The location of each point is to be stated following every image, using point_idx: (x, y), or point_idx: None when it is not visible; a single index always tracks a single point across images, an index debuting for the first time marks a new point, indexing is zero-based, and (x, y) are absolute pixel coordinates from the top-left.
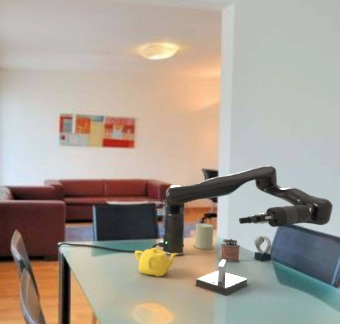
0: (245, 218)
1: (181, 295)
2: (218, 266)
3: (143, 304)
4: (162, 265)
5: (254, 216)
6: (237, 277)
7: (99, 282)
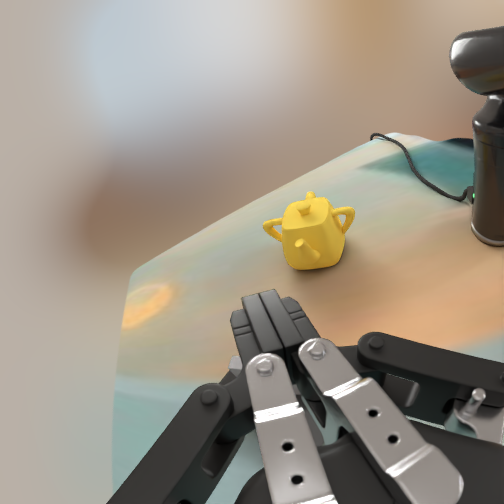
0: (232, 328)
1: (202, 324)
2: (233, 357)
3: (165, 288)
4: (284, 251)
5: (198, 390)
6: (315, 430)
7: (238, 222)
